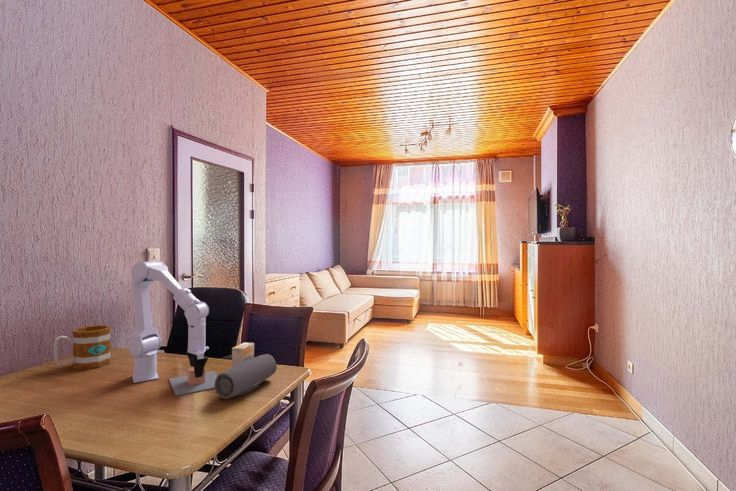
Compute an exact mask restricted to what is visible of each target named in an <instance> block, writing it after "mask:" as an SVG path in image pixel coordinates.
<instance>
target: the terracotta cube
mask: <svg viewBox="0 0 736 491" xmlns="http://www.w3.org/2000/svg"><path fill="white" fill-rule="evenodd" d="M205 372H206V368H205V367H204V371H203V375H202V377H198V378H196V377H195V373H194V367H191V366H188V367H187V375H188V377H187V381H188V383H189V385H195V384H200V383H205Z"/></svg>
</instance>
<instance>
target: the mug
mask: <svg viewBox="0 0 736 491" xmlns="http://www.w3.org/2000/svg"><path fill="white" fill-rule="evenodd" d="M61 339H63V340H64V339H65V340H66V341H67V342H70V343H72V357H73V358H72V359H71V358H70V359H67V360H65V361H64V362H60V360H59V348H58V341H60V340H61ZM111 344H112V343H111V325H108V324H107V325H106V324H104V325H103V324H99V325H98V324H96V325H87V326H82V327H78V328H74V329H73V330H72V338H70V337H69V336H66V335H59V336H58V337H55V339H54V341H53V343H52V347H53V356H54V357H53V358H54V362H55V363H56V365H57V366H66V365H68V364H71V363H72V368H71V369H72V370H80V371H83V370H92V369H99V368H102V367H104V366H108V365H110V364H111V362H112V359H111Z"/></svg>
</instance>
